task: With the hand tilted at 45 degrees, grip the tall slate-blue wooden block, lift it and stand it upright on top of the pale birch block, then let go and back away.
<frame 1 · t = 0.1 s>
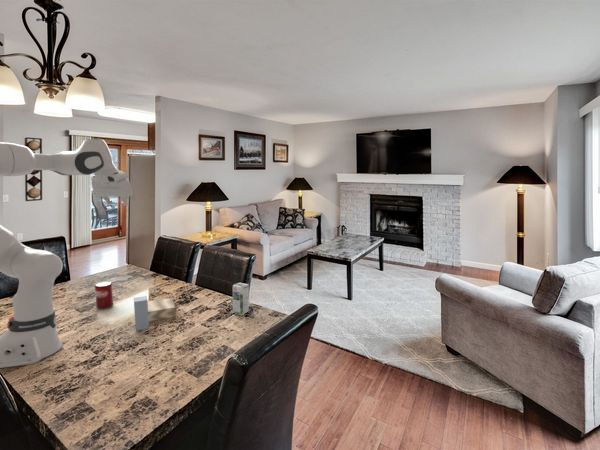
hand: (117, 204, 147), 52 cm above the table, tool tilted 20°, fingers open, 8 cm apart
birch block: (159, 314, 154), on the table
syrup box: (240, 313, 157), on the table
soda can: (104, 307, 161), on the table
slate block: (142, 327, 140), on the table
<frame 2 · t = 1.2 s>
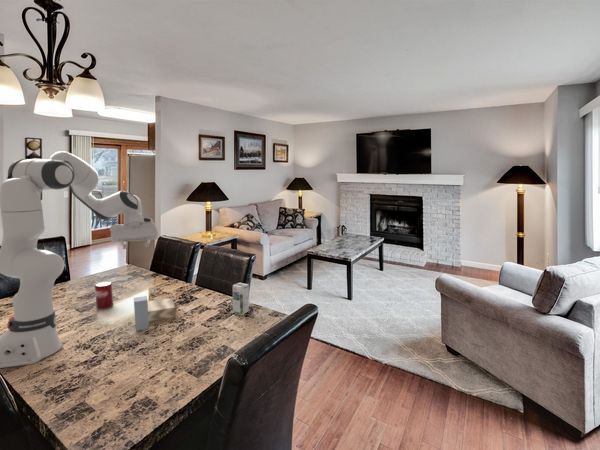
hand: (136, 247, 152), 32 cm above the table, tool tilted 45°, fingers open, 8 cm apart
nothing on the table moved.
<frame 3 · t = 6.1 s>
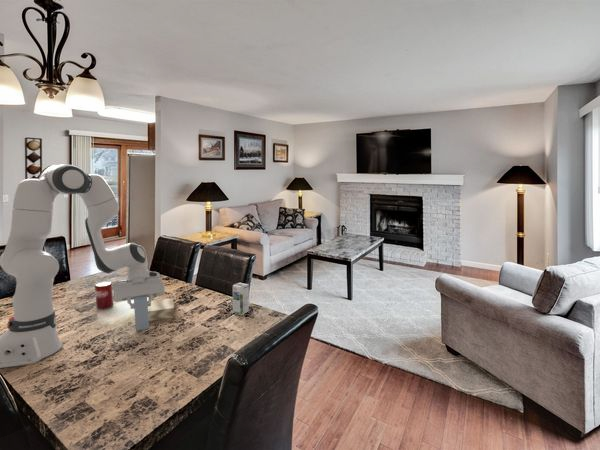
hand: (140, 306, 139), 9 cm above the table, tool tilted 45°, fingers closed on slate block, 5 cm apart
slate block: (142, 327, 140), on the table, touching gripper
everything else where it was.
when the fingers open (16 cm above the table, at t = 12.9 s): slate block drops 2 cm, point 5 cm above the table.
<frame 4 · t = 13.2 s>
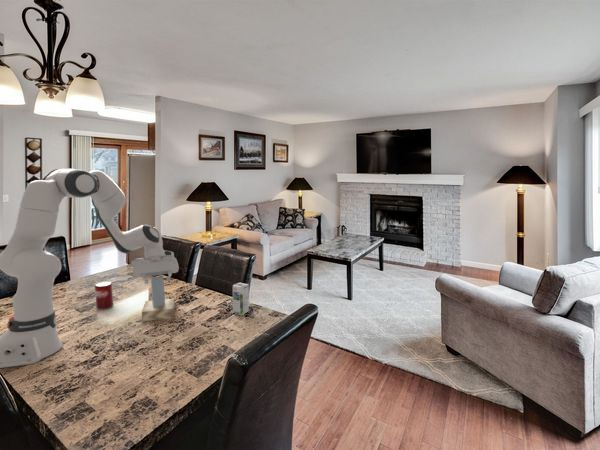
hand: (157, 282, 152), 16 cm above the table, tool tilted 45°, fingers open, 8 cm apart
slate block: (158, 304, 153), point 5 cm above the table
everything else where it was.
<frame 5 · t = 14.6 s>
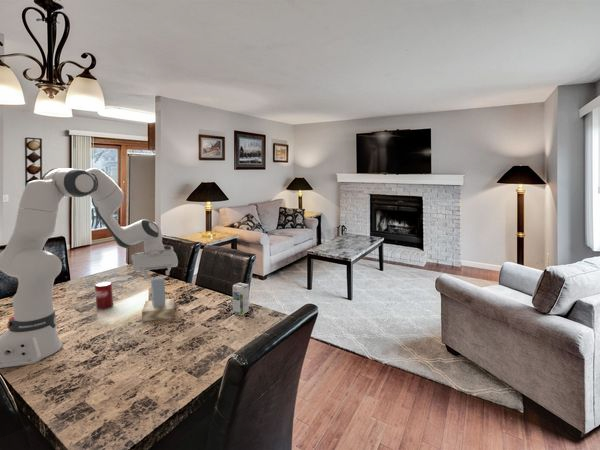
hand: (157, 276, 153), 18 cm above the table, tool tilted 45°, fingers open, 8 cm apart
nothing on the table moved.
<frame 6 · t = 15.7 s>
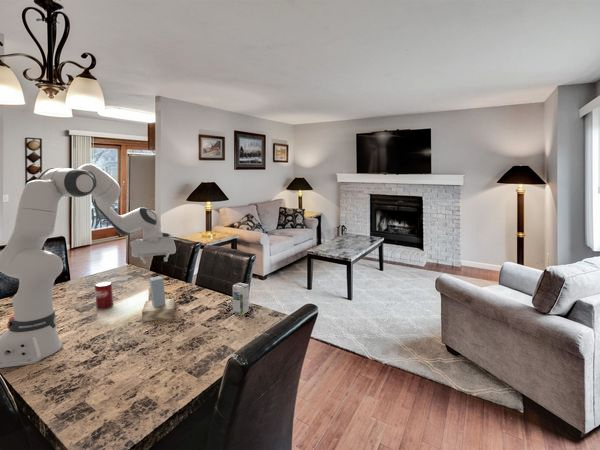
hand: (155, 262, 157), 24 cm above the table, tool tilted 45°, fingers open, 8 cm apart
nothing on the table moved.
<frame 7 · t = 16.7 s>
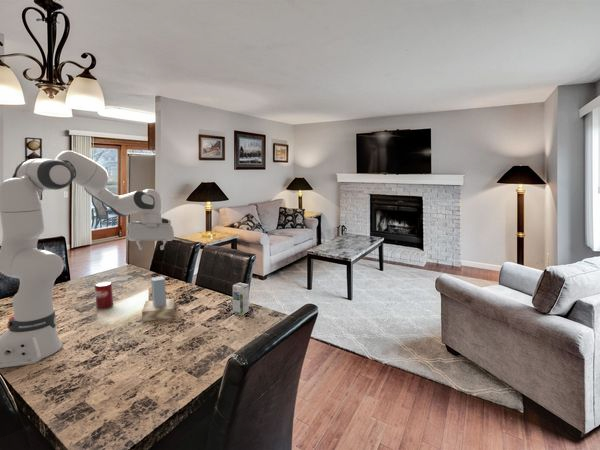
hand: (151, 249, 155), 30 cm above the table, tool tilted 25°, fingers open, 8 cm apart
birch block: (159, 314, 154), on the table, touching slate block
slate block: (159, 304, 154), point 5 cm above the table, touching birch block
everything else where it was.
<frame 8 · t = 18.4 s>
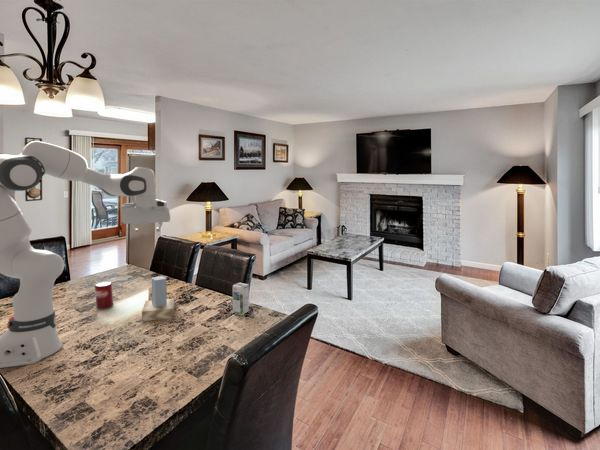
hand: (147, 232, 151), 39 cm above the table, tool pointing down, fingers open, 8 cm apart
nothing on the table moved.
at the end: slate block inside the target area on the birch block (0.3 cm from its centre), point 5.1 cm above the birch block's base; slate block tilted 1°; the gripper is holding nothing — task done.
